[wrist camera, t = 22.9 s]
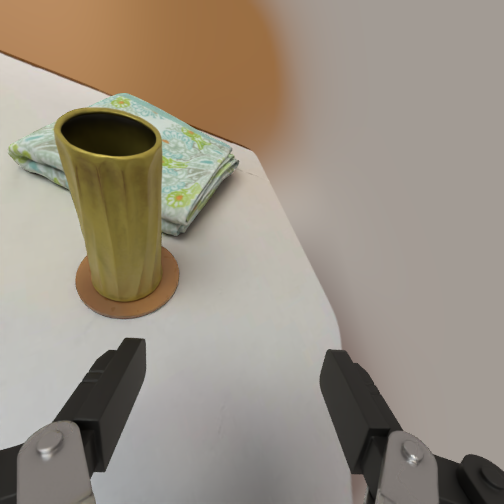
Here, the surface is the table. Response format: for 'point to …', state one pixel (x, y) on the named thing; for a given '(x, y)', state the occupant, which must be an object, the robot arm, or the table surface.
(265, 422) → the table surface
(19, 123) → the table surface
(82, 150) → the vase
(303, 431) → the table surface
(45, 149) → the towel
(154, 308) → the coaster
